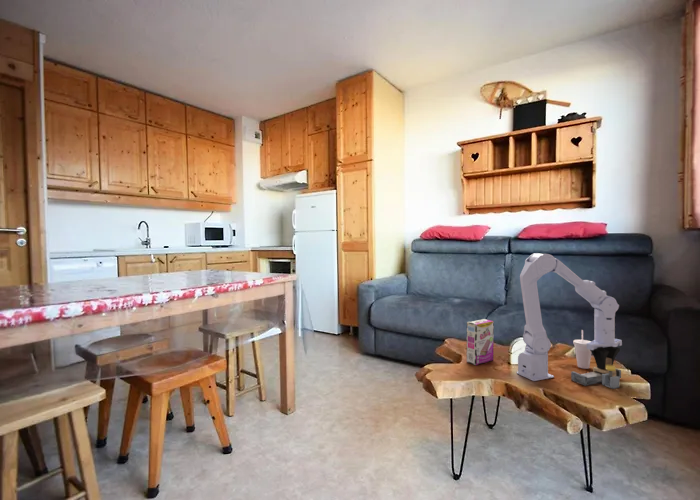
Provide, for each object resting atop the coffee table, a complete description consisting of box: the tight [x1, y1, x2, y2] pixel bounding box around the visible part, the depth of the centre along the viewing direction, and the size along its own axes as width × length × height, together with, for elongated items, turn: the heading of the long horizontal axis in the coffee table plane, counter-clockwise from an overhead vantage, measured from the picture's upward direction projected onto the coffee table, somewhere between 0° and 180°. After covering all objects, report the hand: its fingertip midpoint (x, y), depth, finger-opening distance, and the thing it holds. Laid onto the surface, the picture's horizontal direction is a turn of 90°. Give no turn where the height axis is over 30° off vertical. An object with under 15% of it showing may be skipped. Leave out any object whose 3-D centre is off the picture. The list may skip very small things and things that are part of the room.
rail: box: [570, 368, 622, 387], centre depth 118 cm, size 17×5×3 cm, turn 108°
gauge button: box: [606, 364, 617, 380], centre depth 112 cm, size 3×3×5 cm
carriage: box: [592, 357, 616, 377], centre depth 119 cm, size 5×4×6 cm
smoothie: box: [573, 329, 592, 370], centre depth 130 cm, size 6×6×14 cm
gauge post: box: [601, 373, 620, 390], centre depth 112 cm, size 3×4×4 cm
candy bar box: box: [466, 318, 495, 366], centre depth 138 cm, size 11×5×16 cm, turn 121°
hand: (604, 367), depth 119 cm, fingers closed on carriage, 3 cm apart
